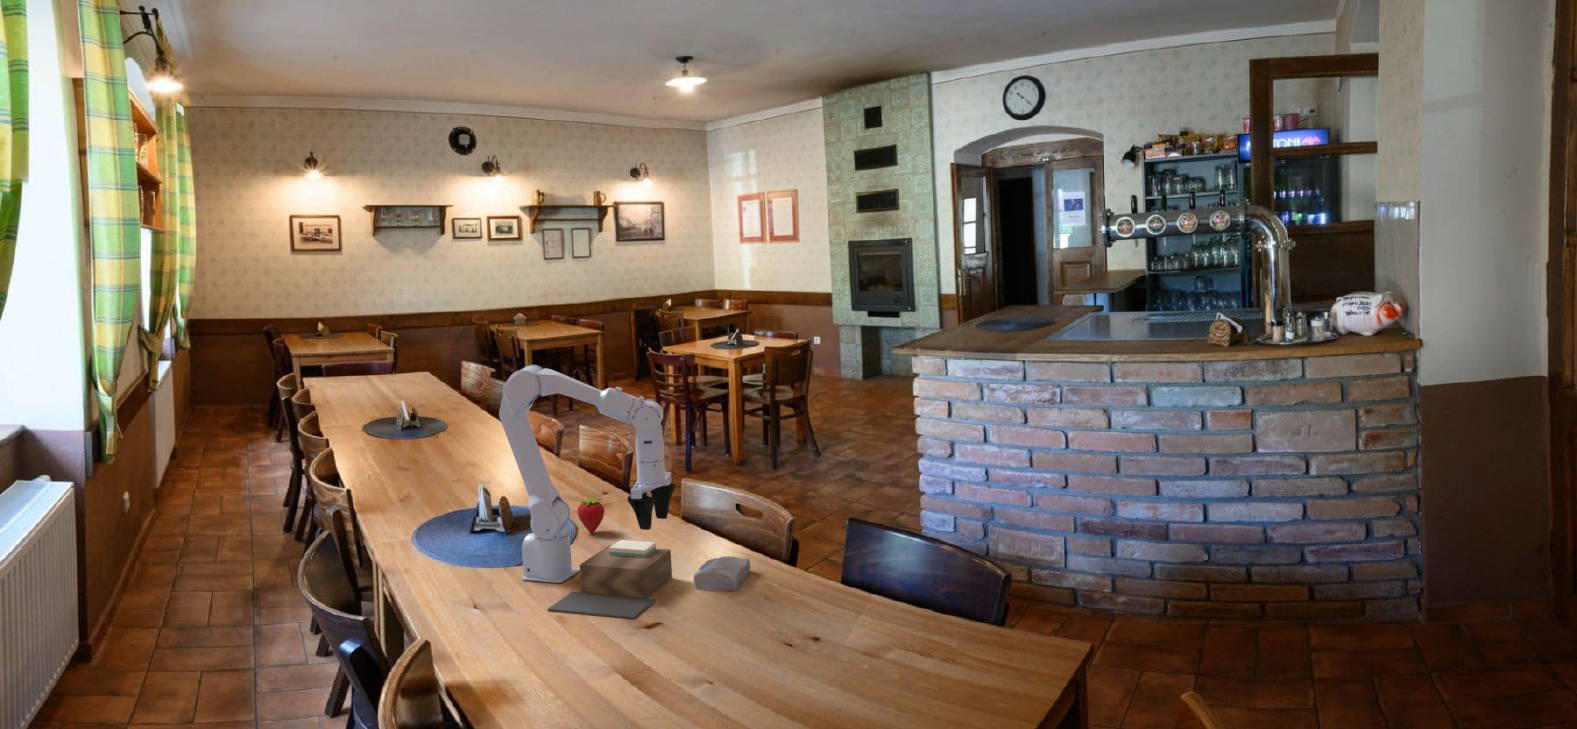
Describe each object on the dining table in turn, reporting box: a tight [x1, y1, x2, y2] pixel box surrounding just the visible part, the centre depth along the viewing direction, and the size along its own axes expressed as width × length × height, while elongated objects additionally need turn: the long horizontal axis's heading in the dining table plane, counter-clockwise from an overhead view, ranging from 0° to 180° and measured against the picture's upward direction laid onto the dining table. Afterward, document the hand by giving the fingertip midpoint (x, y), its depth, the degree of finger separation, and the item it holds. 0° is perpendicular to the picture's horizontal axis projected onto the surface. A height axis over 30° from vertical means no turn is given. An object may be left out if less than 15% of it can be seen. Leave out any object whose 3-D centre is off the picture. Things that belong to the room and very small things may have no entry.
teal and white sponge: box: [609, 539, 657, 558], centre depth 186 cm, size 8×5×2 cm, turn 72°
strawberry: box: [576, 492, 605, 534], centre depth 219 cm, size 6×8×10 cm
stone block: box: [693, 555, 751, 592], centre depth 185 cm, size 12×5×10 cm
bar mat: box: [547, 590, 656, 620], centre depth 174 cm, size 18×9×1 cm, turn 72°
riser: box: [579, 544, 673, 598], centre depth 184 cm, size 14×12×6 cm
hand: (653, 523), depth 191 cm, fingers open, 7 cm apart
